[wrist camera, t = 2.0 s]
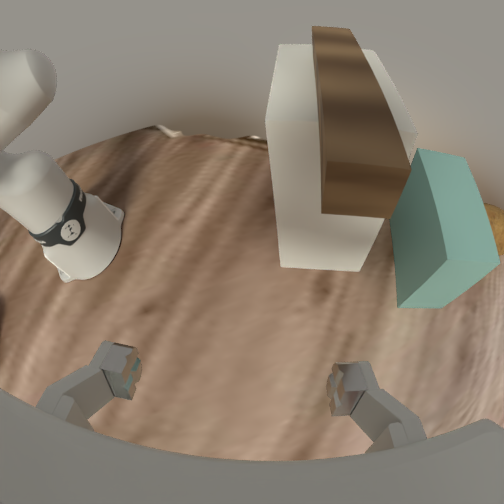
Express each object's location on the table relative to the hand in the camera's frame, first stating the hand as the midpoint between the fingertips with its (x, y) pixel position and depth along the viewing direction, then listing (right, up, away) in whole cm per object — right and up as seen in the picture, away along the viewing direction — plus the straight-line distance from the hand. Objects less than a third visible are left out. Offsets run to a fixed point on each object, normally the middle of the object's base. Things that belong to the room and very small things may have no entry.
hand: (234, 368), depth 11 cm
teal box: (+27, +3, +29) cm, 40 cm away
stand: (+12, +10, +35) cm, 38 cm away
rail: (+8, +16, +9) cm, 20 cm away
